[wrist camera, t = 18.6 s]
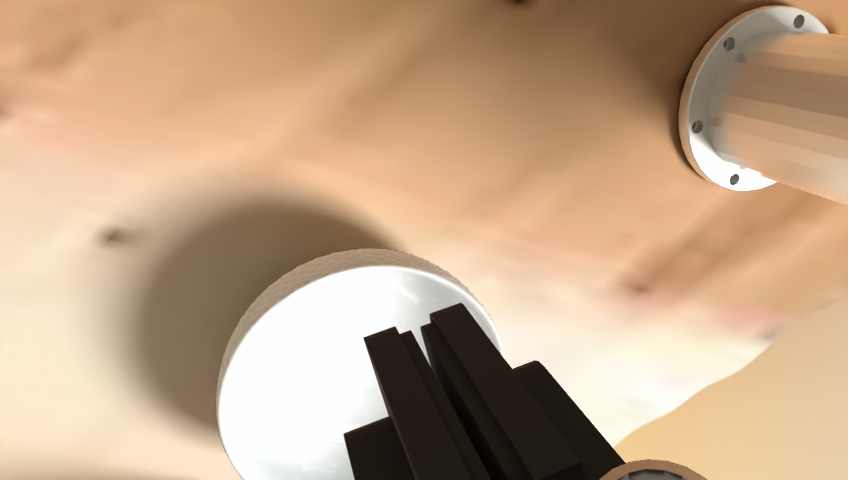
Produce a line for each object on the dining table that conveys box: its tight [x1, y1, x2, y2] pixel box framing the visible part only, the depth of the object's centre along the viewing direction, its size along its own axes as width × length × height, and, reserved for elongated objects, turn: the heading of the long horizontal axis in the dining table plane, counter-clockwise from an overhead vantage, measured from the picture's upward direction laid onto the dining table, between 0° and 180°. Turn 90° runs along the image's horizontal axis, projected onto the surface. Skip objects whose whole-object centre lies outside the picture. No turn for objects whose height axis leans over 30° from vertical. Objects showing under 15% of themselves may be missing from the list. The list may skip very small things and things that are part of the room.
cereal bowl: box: [216, 248, 505, 480], centre depth 40 cm, size 17×17×7 cm
